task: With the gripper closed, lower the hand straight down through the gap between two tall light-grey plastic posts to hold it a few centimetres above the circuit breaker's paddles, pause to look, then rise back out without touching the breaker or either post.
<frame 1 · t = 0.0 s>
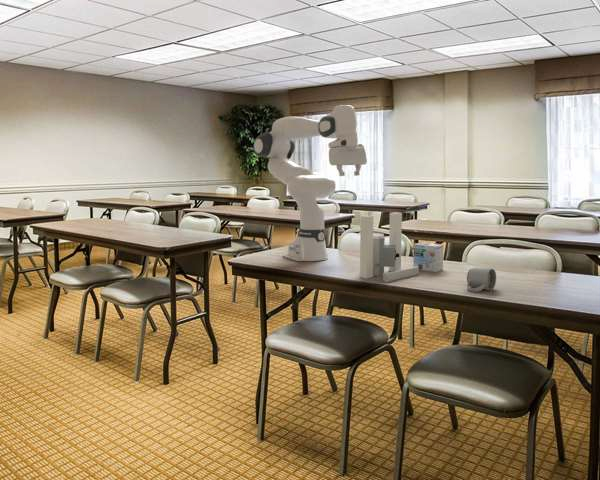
hand: (349, 175, 227), 39 cm above the table, tool pointing down, fingers open, 8 cm apart
circuit breaker: (381, 274, 214), on the table
light bulb box: (427, 269, 222), on the table
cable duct: (401, 277, 207), on the table
ceramic mug: (479, 290, 187), on the table
post 1: (366, 277, 208), on the table
post 2: (394, 270, 220), on the table
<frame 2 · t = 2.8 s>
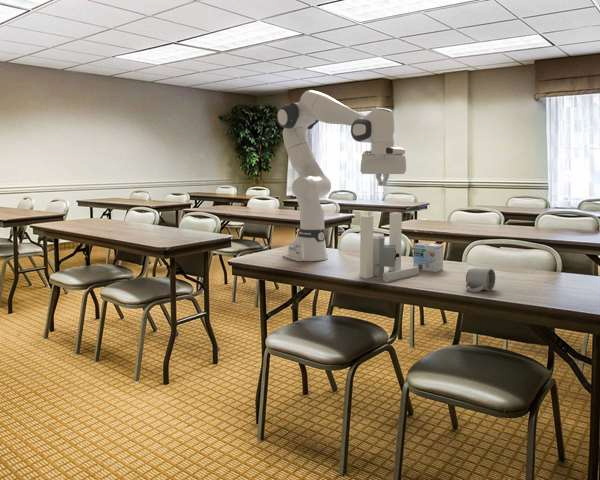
hand: (382, 185, 209), 35 cm above the table, tool pointing down, fingers closed
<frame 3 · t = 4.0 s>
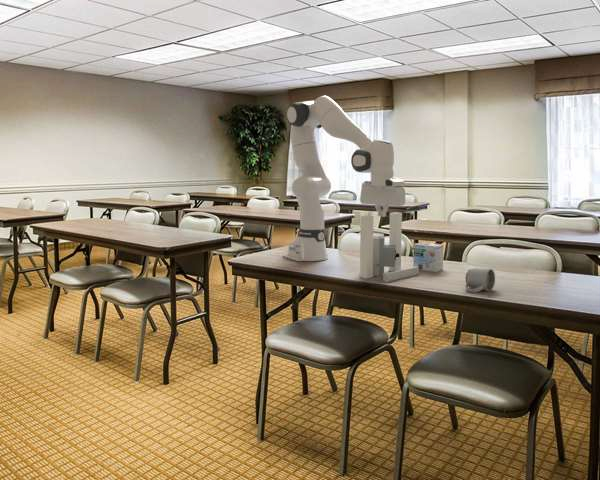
hand: (381, 216, 211), 23 cm above the table, tool pointing down, fingers closed
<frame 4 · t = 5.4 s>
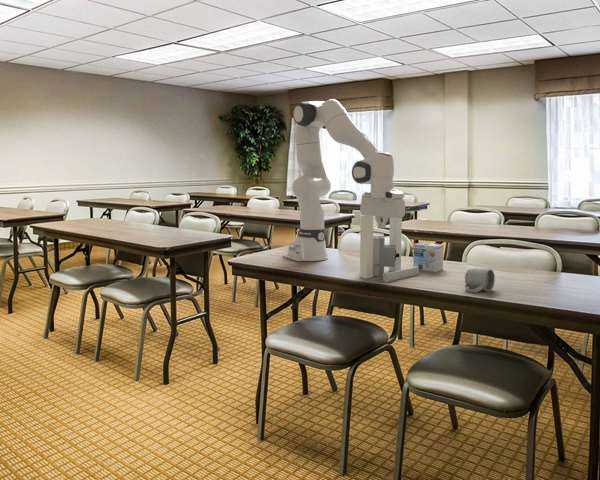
hand: (381, 227, 212), 19 cm above the table, tool pointing down, fingers closed
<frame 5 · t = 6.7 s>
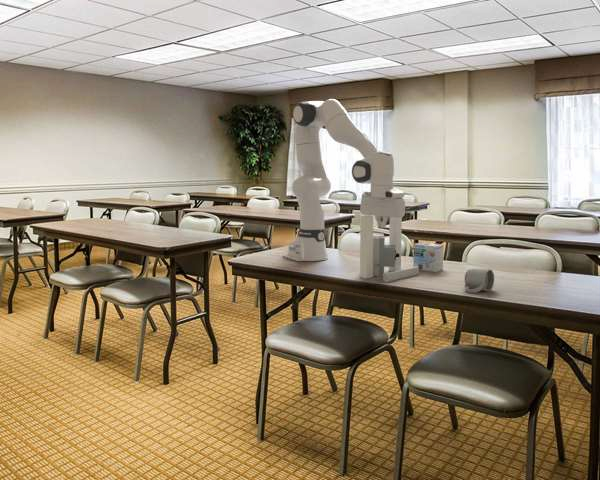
hand: (381, 227, 212), 19 cm above the table, tool pointing down, fingers closed
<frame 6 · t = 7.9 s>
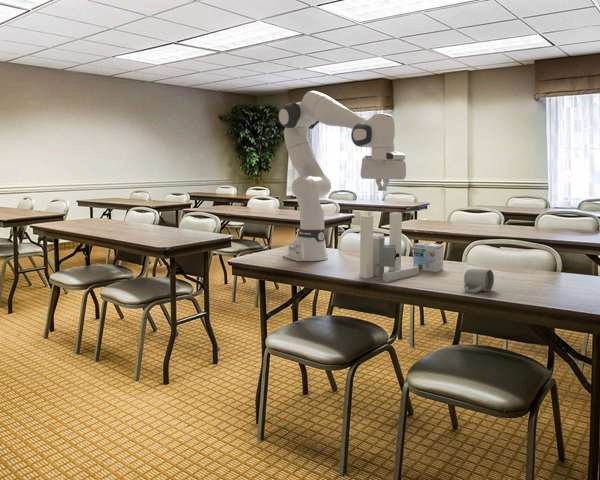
hand: (382, 190, 209), 33 cm above the table, tool pointing down, fingers closed
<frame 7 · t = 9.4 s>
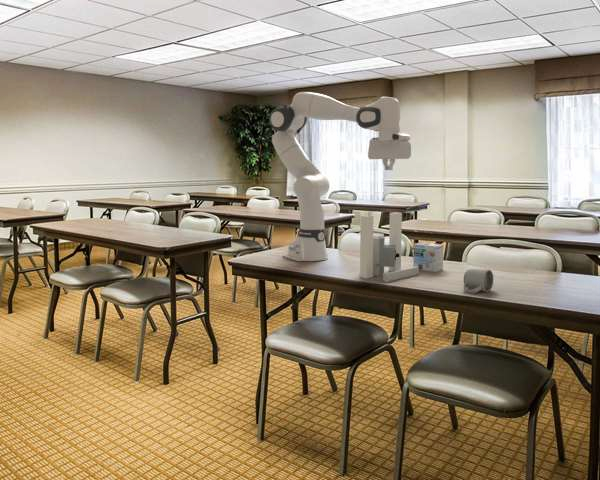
hand: (388, 170, 223), 41 cm above the table, tool pointing down, fingers closed
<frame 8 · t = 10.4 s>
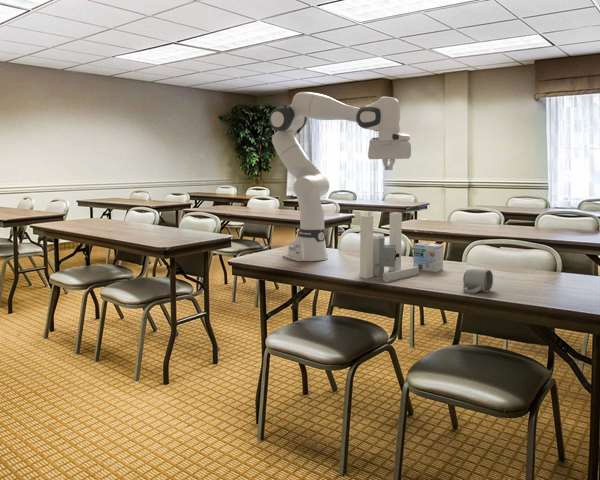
hand: (388, 170, 223), 41 cm above the table, tool pointing down, fingers closed
at the end: circuit breaker moved 0.2 cm from its start; post 1 tilted 0°; post 2 tilted 0° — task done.
